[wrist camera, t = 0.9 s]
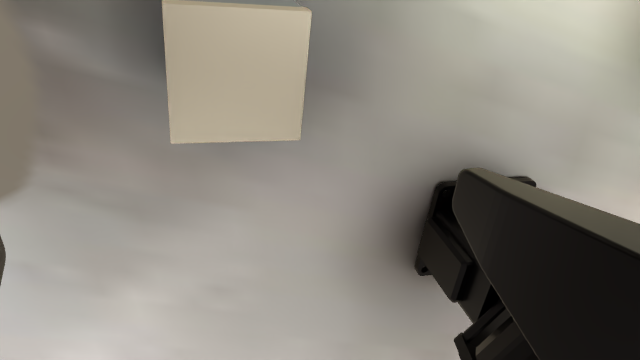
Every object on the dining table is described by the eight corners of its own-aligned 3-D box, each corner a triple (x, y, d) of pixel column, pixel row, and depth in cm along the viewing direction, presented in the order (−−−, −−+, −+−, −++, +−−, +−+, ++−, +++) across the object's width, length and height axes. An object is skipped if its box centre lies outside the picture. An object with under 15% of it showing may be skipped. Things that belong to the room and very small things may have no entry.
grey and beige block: (272, -22, 18) (311, 11, 13) (267, 79, 20) (300, 140, 16) (163, -30, 17) (161, 3, 12) (169, 78, 19) (170, 143, 14)
